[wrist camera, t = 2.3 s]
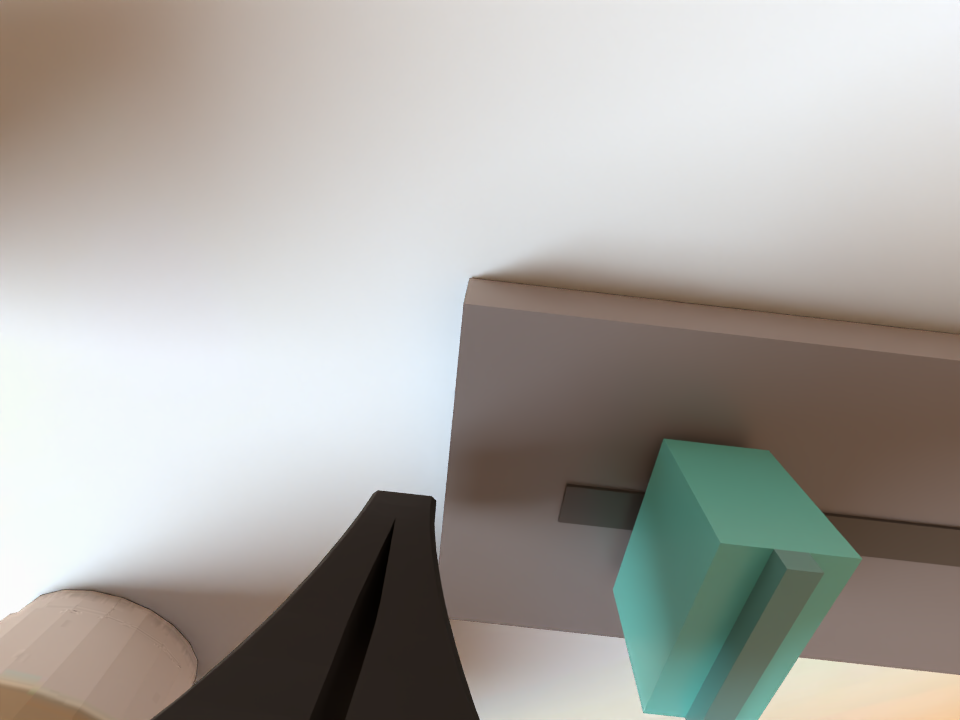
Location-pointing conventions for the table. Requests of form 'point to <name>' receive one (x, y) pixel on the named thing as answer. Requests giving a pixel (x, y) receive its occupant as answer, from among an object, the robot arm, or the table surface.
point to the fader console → (704, 419)
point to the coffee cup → (90, 660)
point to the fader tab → (724, 581)
